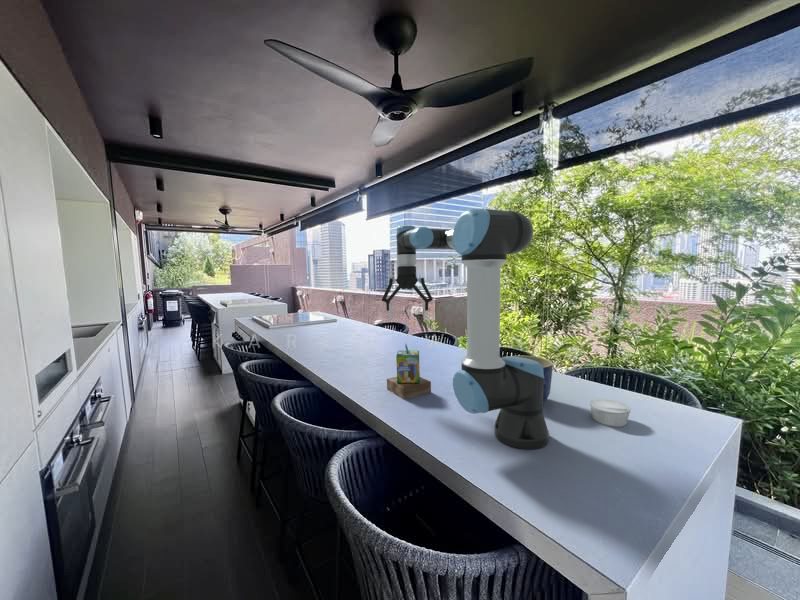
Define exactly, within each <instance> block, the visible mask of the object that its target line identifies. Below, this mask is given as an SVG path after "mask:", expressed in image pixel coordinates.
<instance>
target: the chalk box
mask: <svg viewBox="0 0 800 600" xmlns="http://www.w3.org/2000/svg"><path fill="white" fill-rule="evenodd" d="M404 347H405V349H404V350H397V353H396V358H395V359H396V377H397V383H420V377H421V375H420V350H412V349H411V350H410V349H409V348H408V345H407V343H405V345H404Z"/></svg>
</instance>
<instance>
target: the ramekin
mask: <svg viewBox="0 0 800 600" xmlns="http://www.w3.org/2000/svg"><path fill="white" fill-rule="evenodd" d="M589 406H590V410H591V411H590V412H591V417H592V419H593V420H594V421H595V422H597V423H598V424H601V425H603V426H607V427H613V428H614V427H615V428H620V427H624V426H625V425H627V424H628V420H629V416H630V413H631V408H630V406H628V405H627V404H625V403H623V402H621V401H618V400H614V399H607V398H594V399H592V400H591V401H590V402H589Z"/></svg>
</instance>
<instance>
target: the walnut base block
mask: <svg viewBox="0 0 800 600" xmlns="http://www.w3.org/2000/svg"><path fill="white" fill-rule="evenodd" d="M386 390H387V391H389V392H391V393H392V392H393V393H392V394H394V395H395V396H397V397H399V398H401V399H402V400H405V399H410V398H414V397H419V396H422V395H426V394H431V392H432V382H431V381H430V380H428V379H427V378H424V377H421V376H420V383H397V376H393V377H389V378H386Z"/></svg>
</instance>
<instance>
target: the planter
mask: <svg viewBox="0 0 800 600" xmlns="http://www.w3.org/2000/svg"><path fill="white" fill-rule="evenodd" d="M510 356H511V355H510ZM511 357H521V358H526V359H531V360H534V361H537V362H539V363H540V364H541V365H542V366H543V374H544V389H543V403H544V402H546V401H547V400H548V398H549V396H550V394H551V388H552V377H553V368H554V363H553V361H552V360H550V359H547V358H546V357H545V358H544V357H541V356H536V355H535V356H532V355H512V356H511Z"/></svg>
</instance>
